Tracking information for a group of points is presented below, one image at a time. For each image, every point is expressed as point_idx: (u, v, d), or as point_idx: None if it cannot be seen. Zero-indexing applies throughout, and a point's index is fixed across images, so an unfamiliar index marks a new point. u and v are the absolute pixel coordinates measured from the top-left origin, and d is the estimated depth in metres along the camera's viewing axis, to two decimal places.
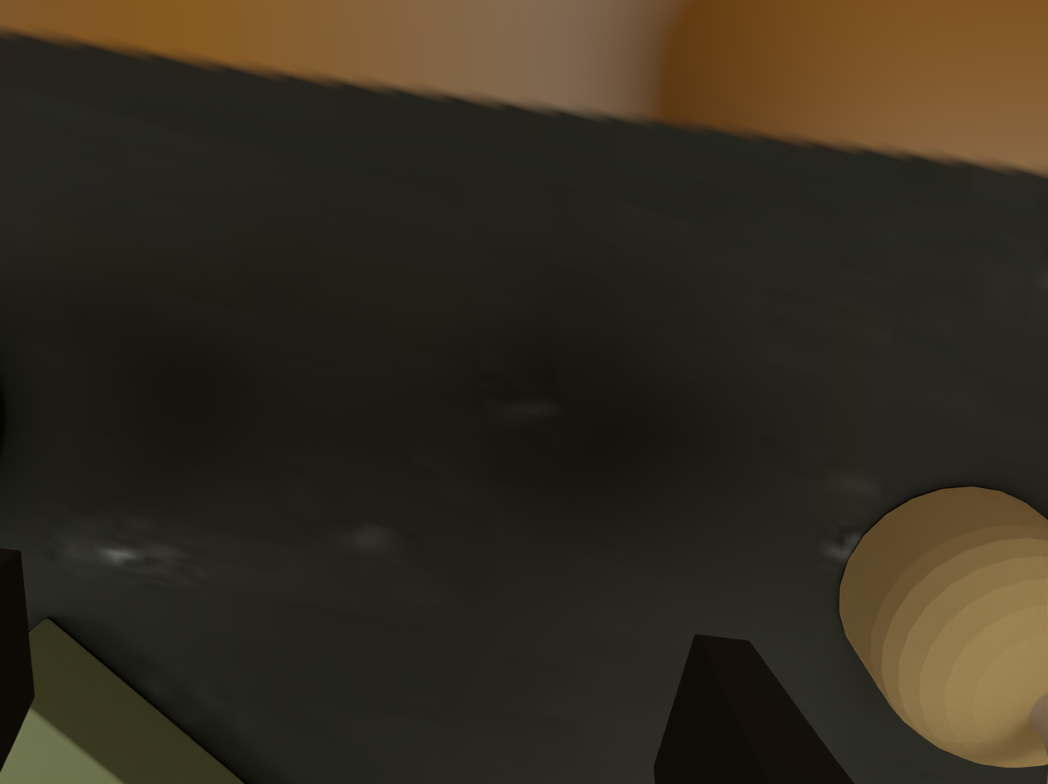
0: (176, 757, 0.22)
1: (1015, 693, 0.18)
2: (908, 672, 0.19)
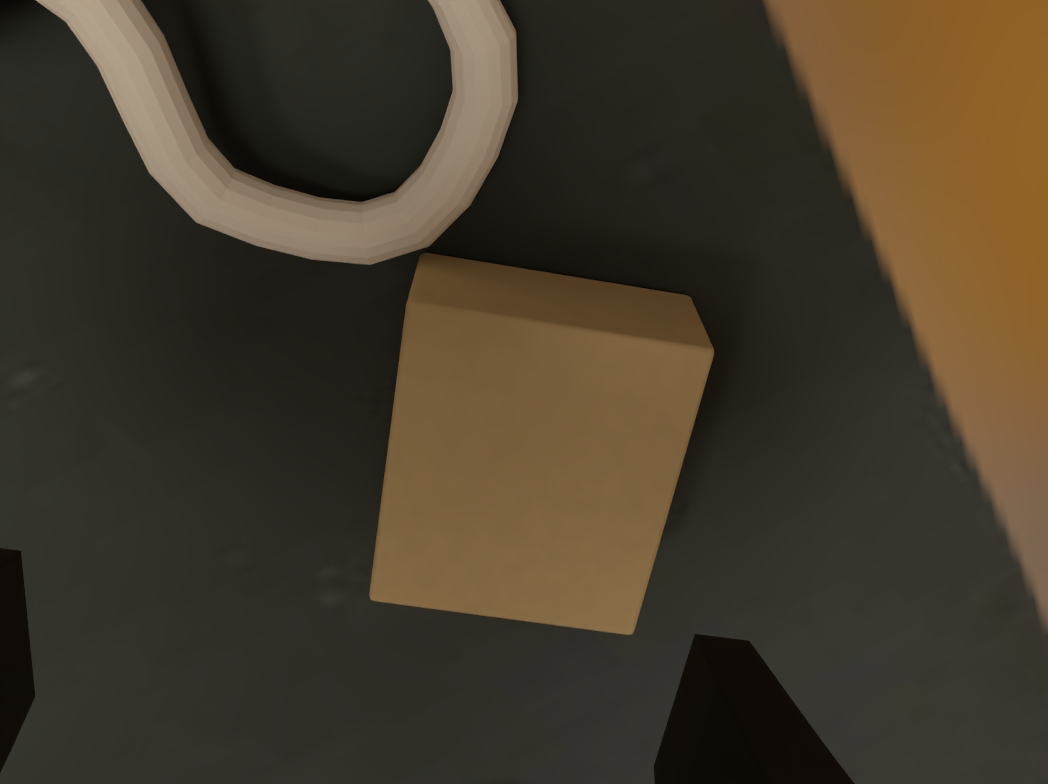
0: None
1: None
2: None
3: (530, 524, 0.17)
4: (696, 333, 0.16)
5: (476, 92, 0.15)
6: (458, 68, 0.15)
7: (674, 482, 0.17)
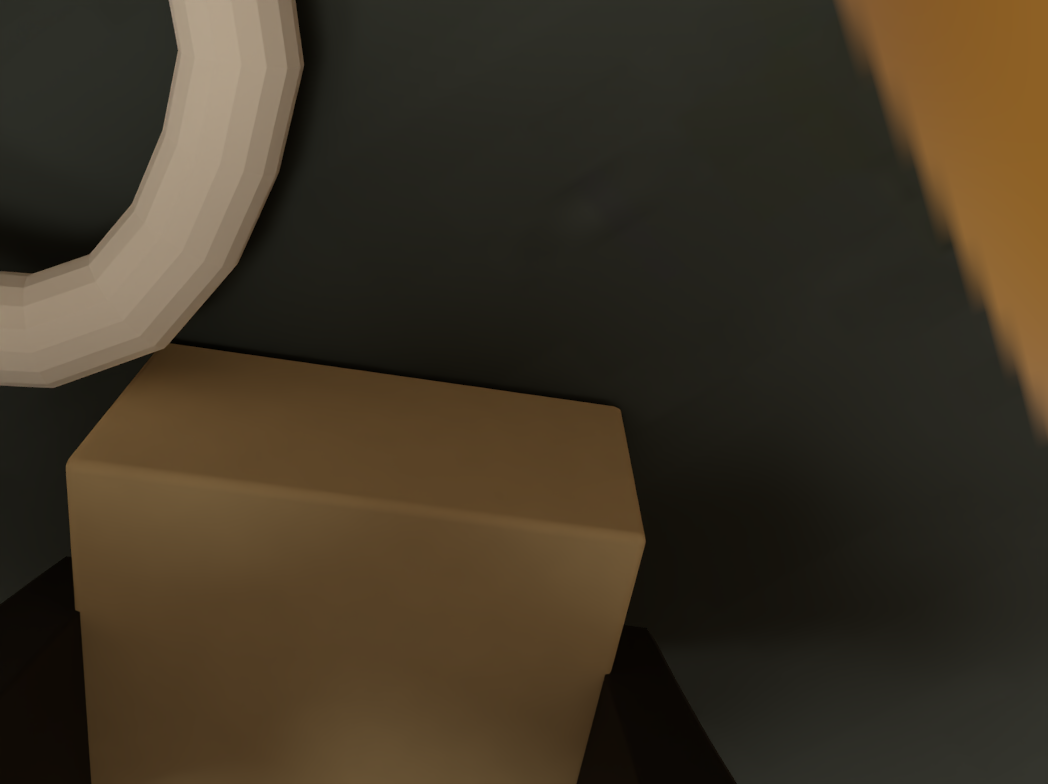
0: None
1: None
2: None
3: None
4: (616, 498, 0.09)
5: (214, 40, 0.08)
6: None
7: (586, 745, 0.09)
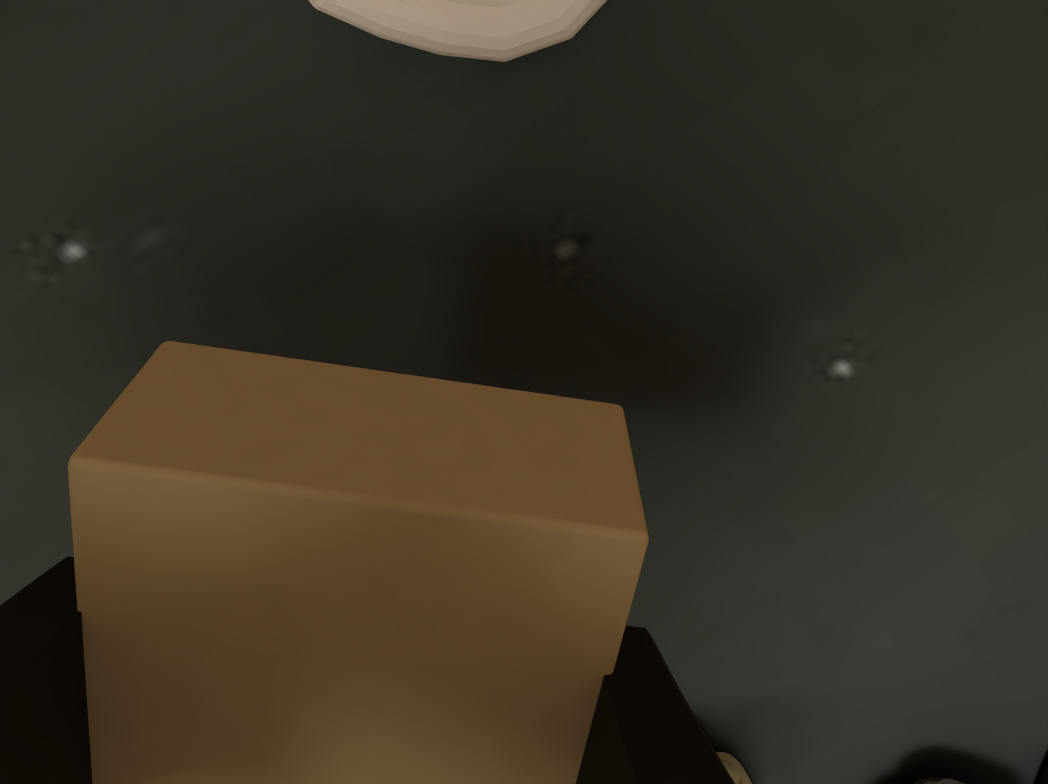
0: None
1: None
2: None
3: None
4: (619, 495, 0.09)
5: None
6: None
7: None
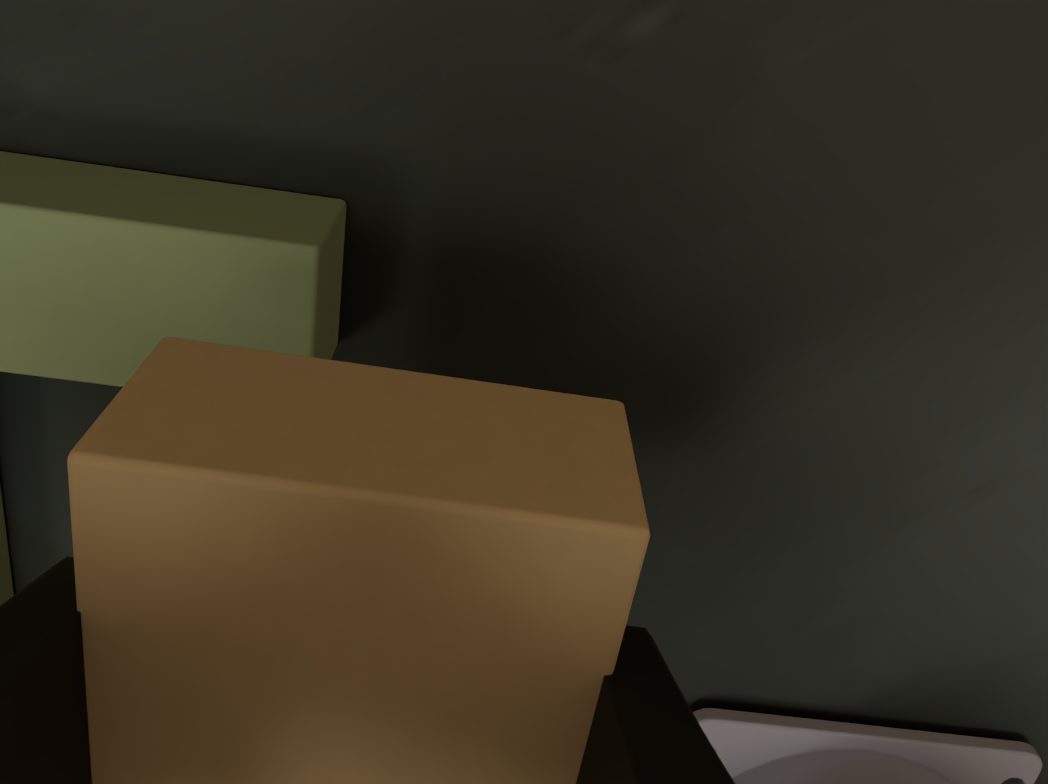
0: None
1: None
2: None
3: None
4: (621, 491, 0.09)
5: None
6: None
7: None
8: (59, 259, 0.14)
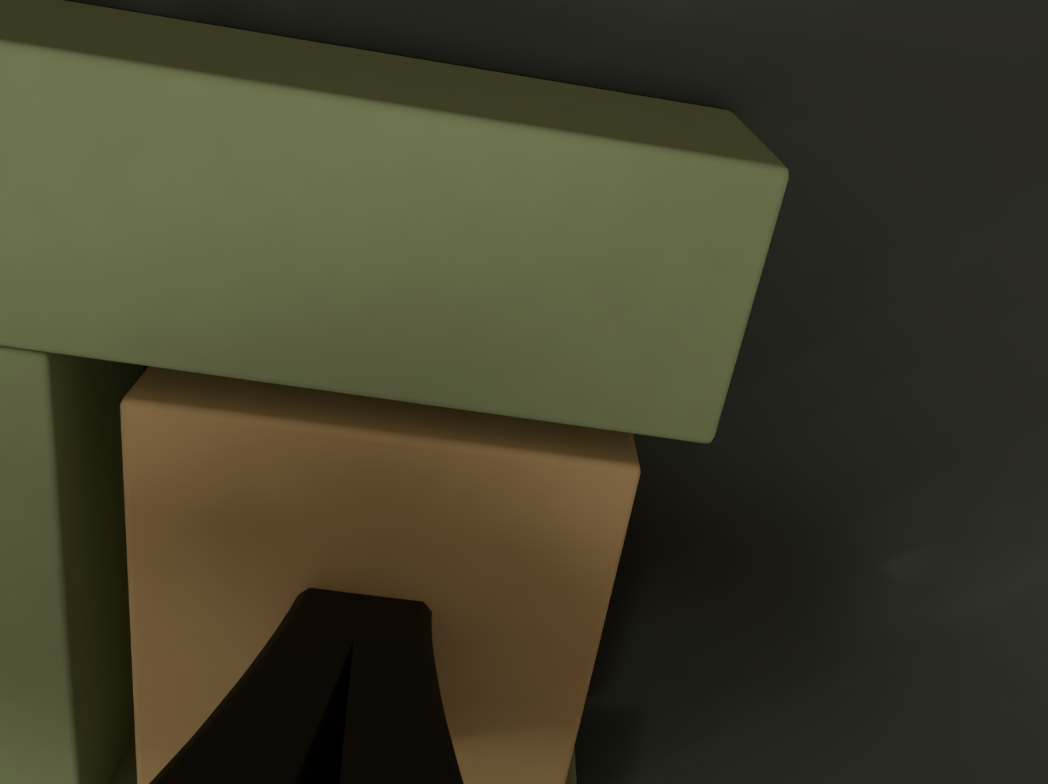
0: (159, 29, 0.09)
1: None
2: None
3: None
4: (614, 435, 0.10)
5: None
6: None
7: (589, 665, 0.10)
8: (343, 185, 0.08)
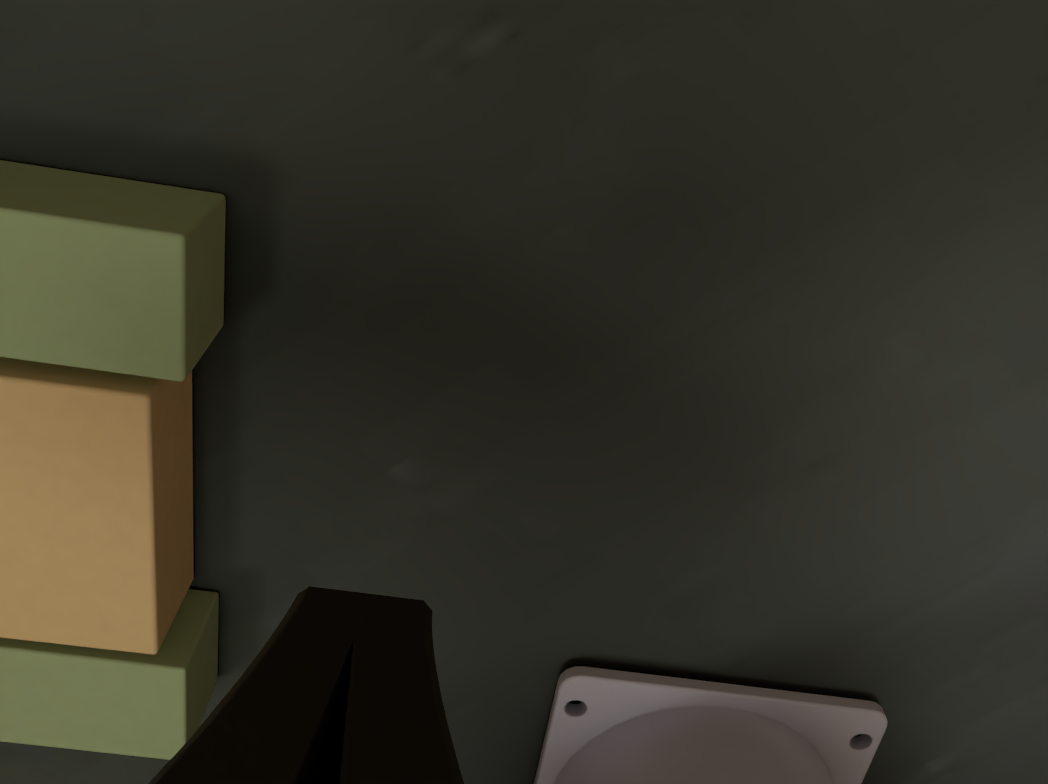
0: None
1: None
2: None
3: (28, 555, 0.18)
4: (147, 380, 0.17)
5: None
6: None
7: (149, 516, 0.18)
8: None
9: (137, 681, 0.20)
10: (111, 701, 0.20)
